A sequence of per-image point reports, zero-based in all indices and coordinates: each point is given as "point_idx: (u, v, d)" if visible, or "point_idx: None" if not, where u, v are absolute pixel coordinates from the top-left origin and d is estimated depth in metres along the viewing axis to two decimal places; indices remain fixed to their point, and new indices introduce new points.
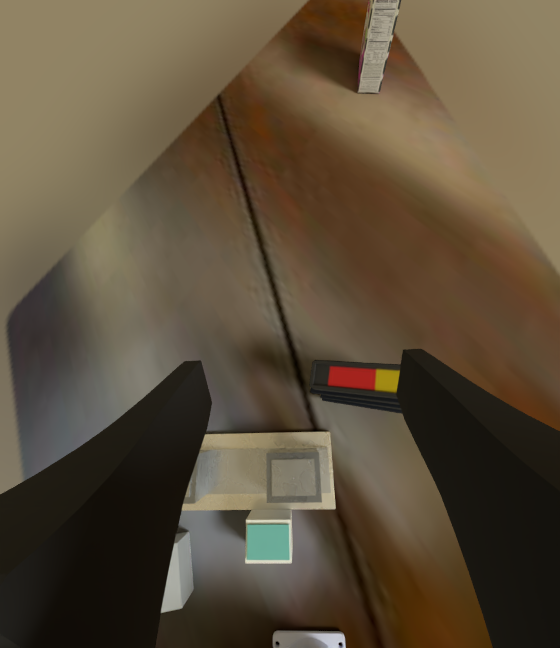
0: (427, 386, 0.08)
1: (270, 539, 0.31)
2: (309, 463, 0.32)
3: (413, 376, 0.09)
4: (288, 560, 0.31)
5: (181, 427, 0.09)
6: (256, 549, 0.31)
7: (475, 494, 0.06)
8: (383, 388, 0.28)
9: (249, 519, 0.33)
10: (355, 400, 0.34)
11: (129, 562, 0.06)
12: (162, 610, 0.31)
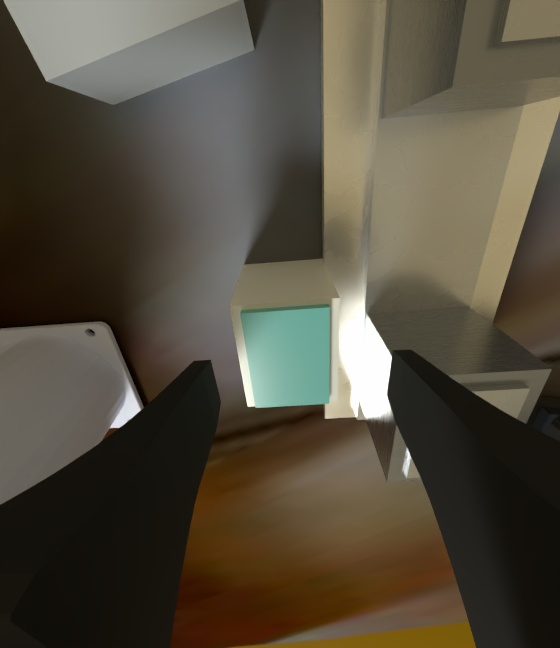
0: (415, 387, 0.08)
1: (296, 368, 0.11)
2: None
3: (402, 376, 0.09)
4: (252, 402, 0.13)
5: (193, 426, 0.08)
6: (268, 336, 0.11)
7: (459, 494, 0.06)
8: None
9: None
10: None
11: (146, 562, 0.06)
12: None
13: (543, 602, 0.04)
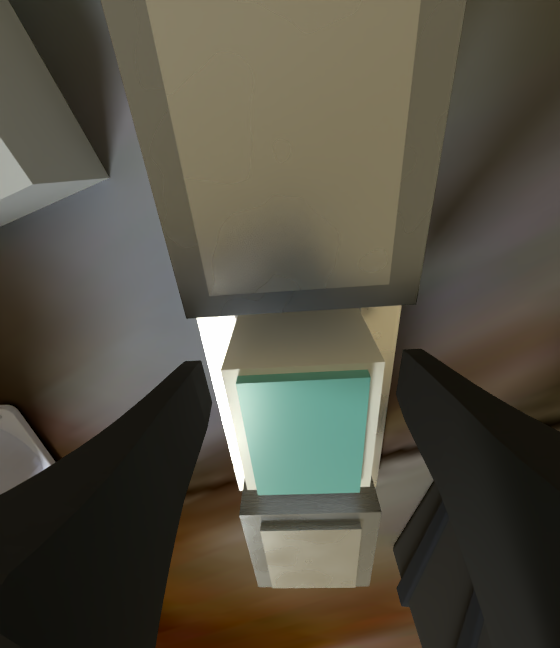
0: (427, 386, 0.08)
1: (316, 452, 0.08)
2: (345, 581, 0.12)
3: (413, 376, 0.09)
4: (254, 486, 0.09)
5: (182, 427, 0.09)
6: (277, 413, 0.07)
7: (475, 494, 0.06)
8: None
9: None
10: (476, 637, 0.14)
11: (129, 562, 0.06)
12: None
13: None
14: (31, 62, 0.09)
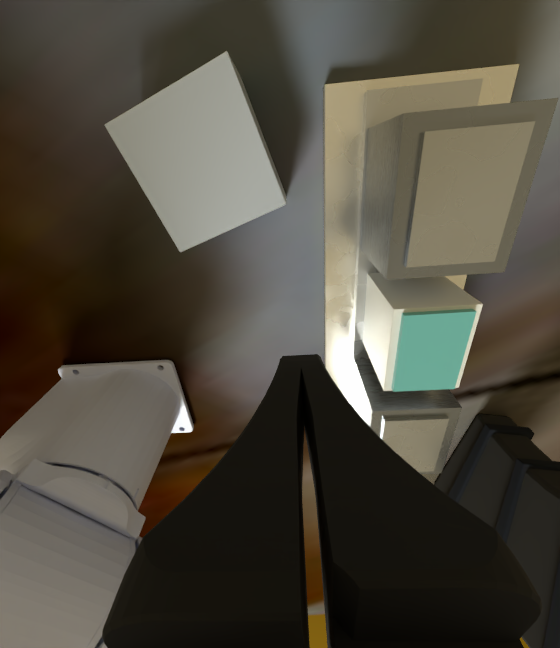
0: (304, 392, 0.08)
1: (436, 359, 0.14)
2: (428, 466, 0.19)
3: None
4: (389, 387, 0.16)
5: (300, 422, 0.08)
6: (421, 333, 0.14)
7: (318, 498, 0.07)
8: None
9: None
10: (511, 517, 0.21)
11: (303, 560, 0.06)
12: (159, 211, 0.14)
13: (329, 603, 0.04)
14: (261, 132, 0.15)
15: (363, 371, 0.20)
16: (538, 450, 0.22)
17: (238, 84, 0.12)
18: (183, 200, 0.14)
